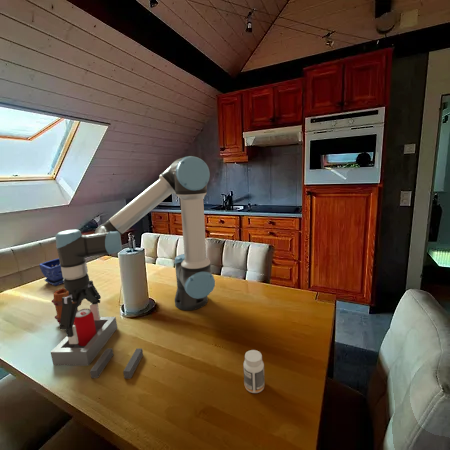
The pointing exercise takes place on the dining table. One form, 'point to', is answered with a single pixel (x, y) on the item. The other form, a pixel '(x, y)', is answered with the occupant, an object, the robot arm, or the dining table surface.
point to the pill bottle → (253, 371)
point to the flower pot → (52, 272)
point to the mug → (60, 302)
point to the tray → (85, 355)
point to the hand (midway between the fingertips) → (85, 330)
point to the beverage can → (84, 326)
